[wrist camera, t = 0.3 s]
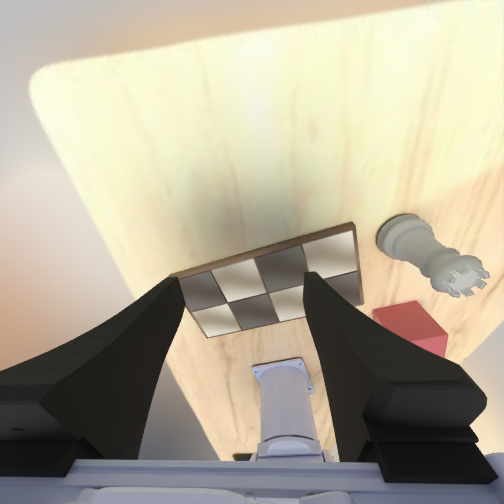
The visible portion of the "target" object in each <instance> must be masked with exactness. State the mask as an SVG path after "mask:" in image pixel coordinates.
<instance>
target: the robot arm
mask: <svg viewBox="0 0 504 504" xmlns="http://www.w3.org/2000/svg"><path fill="white" fill-rule="evenodd" d="M185 305H186V303H185V299H184V296H183V292H182V289H181V286H180V282H179V279H178V277H167V278H165V279H164V280H163V281H161V282H160V283H159V284H157V285H156V286H155V287H153V288H152V289H151V290H149V291H148V292H147V293H146V294H144V295H143V296H142V297H140V298H139V299H138V300H136V301H135V302H134V303H133V304H131V305H129V306H128V307H126V308H125V309H124V310H122V311H121V312H119V313H118V314H116V315H115V316H113V317H112V318H110V319H109V320H107V321H105V322H104V323H102V324H101V325H99V326H97V327H95V328H93V329H92V330H90V331H88V332H86V333H84V334H82V335H80V336H78V337H77V338H75V339H73V340H71V341H69V342H67V343H65V344H63V345H61V346H59V347H57V348H54V349H52V350H50V351H48V352H46V353H43V354H41V355H39V356H37V357H34V358H32V359H29V360H27V361H24V362H22V363H20V364H17V365H15V366H12V367H10V368H7V369H5V370H2V371H0V504H504V453H492V454H487V455H485V456H484V455H483V454H482V453H481V451H480V450H479V448H478V447H477V446H476V444H475V443H477V442H478V441H479V440H478V437H477V436H476V434H475V433H474V432H473V430H472V429H471V427H470V426H469V425H470V424H471V423H472V422H473V421H474V420H475V419H476V418H477V417H478V416H479V415H480V414H481V413H482V412H483V410H484V409H485V407H486V405H487V397H486V395H485V394H484V392H483V391H482V390H481V389H480V388H479V386H478V385H477V384H476V383H475V382H474V381H473V380H472V379H471V377H470V376H469V375H468V374H467V373H466V372H465V371H464V370H463V369H462V367H461V366H460V365H458V364H456V363H454V362H452V361H450V360H447V359H445V358H443V357H441V356H438V355H436V354H434V353H432V352H430V351H427V350H425V349H423V348H421V347H419V346H417V345H415V344H414V343H412V342H410V341H408V340H406V339H404V338H402V337H400V336H399V335H397V334H395V333H393V332H392V331H390V330H388V329H387V328H385V327H383V326H382V325H380V324H378V323H377V322H375V321H374V320H372V319H371V318H369V317H368V316H366V315H365V314H364V313H362V312H361V311H359V310H358V309H357V308H355V307H354V306H353V305H352V304H350V303H349V302H348V301H347V300H345V299H344V298H343V297H342V296H341V295H340V294H339V293H337V292H336V291H335V290H334V289H333V288H332V287H331V286H330V285H329V284H328V283H327V282H326V281H325V280H324V279H323V278H322V277H321V276H320V275H319V274H318V273H317V272H316V271H311V272H304V285H303V305H304V311H305V315H306V319H307V322H308V325H309V328H310V331H311V334H312V337H313V341H314V344H315V347H316V350H317V353H318V356H319V360H320V364H321V368H322V373H323V377H324V382H325V386H326V391H327V396H328V401H329V406H330V411H331V416H332V421H333V426H334V432H335V437H336V443H337V448H338V454H339V460H340V462H335V461H334V458H333V456H332V455H331V454H330V453H329V452H328V451H327V450H322V451H321V446H320V441H319V440H318V438H317V432H316V427H315V422H314V417H313V412H312V407H311V402H310V397H309V394H312V393H313V392H314V390H313V387H312V384H311V381H310V379H309V376H308V373H307V371H306V368H305V365H304V362H303V360H302V359H301V358H297V359H291V360H286V361H280V362H275V363H269V364H264V365H258V366H253V367H252V372H253V374H254V375H255V377H256V379H257V380H258V382H259V384H260V406H261V443H258V453H253V455H252V457H251V459H250V460H249V461H176V460H174V461H173V460H138V455H139V450H140V446H141V441H142V437H143V433H144V429H145V425H146V421H147V417H148V413H149V409H150V405H151V402H152V398H153V395H154V391H155V388H156V384H157V381H158V378H159V374H160V372H161V368H162V365H163V363H164V360H165V357H166V355H167V352H168V350H169V348H170V346H171V343H172V341H173V339H174V336H175V334H176V332H177V329H178V327H179V324H180V322H181V319H182V316H183V313H184V309H185ZM322 452H323V456H322ZM323 459H324V460H323ZM245 497H246V498H245Z"/></svg>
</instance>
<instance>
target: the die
mask: <svg viewBox="0 0 504 504" xmlns="http://www.w3.org/2000/svg"><path fill="white" fill-rule="evenodd" d="M373 320H374V321H375V322H377V323H378V324H380V325H382V326H383V327H385V328H387V329H388V330H390V331H392V332H393V333H395V334H397V335H399V336H400V337H402V338H404V339H406V340H408V341H410V342H412V343H414V344H415V345H417V346H419V347H421V348H423V349H425V350H427V351H430V352H432V353H434V354H436V355H438V356H441V357H443V358H445V352H446V346H447V340H448V334H447V333H446V332H445V331H444V330H443V329H442V327H441V326H440V325H439V324H438V323H437V322H436V321H435V320H434V319H433V318H432V317H431V316H430V315H429V314H428V313H427V312H426V311H425V310H424V309H423V308H422V306H421V305H420V304H419V303H418V302H417V301H412V302H407V303H402V304H398V305H393V306H388V307H383V308H379V309H374V310H373Z"/></svg>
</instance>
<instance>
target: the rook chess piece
mask: <svg viewBox="0 0 504 504" xmlns="http://www.w3.org/2000/svg"><path fill="white" fill-rule="evenodd" d="M377 245H378V247H379V249H380V250H381V251H382V252H383V253H385V254H386V255H387V256H389V257H390V258H392V259H396V260H401V261H407V262H409V263H411V264H413V265H415V266H416V267H418V268H419V269H420V271H421V274H422V275H423V276H425V277H427V278H431V280H430V282H431V285H432V288H434V289H435V290H436V291H438V292H444V293H449V294H450V295H451V296H452V297H457V298H459V297H460V295H461V294H459V293H462V294H464V295H465V296H466V297H467V296H470V295H473V294H474V292H473V291H472V290H470V288H472V287H473V286H477V287H478V288H480V289H483V288H484V287H485V285H486V284H487V283H485V282H484V281H482V280H481V278H484V279H487V278H490V276H489V272H487V271H485V270H484V268H483V267H482V262H481V260H479V259H478V258H477V257H475V256H470V255H462V256H460V254H459V252H458V251H457V250H456V249H453V248H447V247H445V246H443V245H442V244H441V243H440V242H438V241H437V240H436V239H435V237H434V233H433V232H432V228H431V226H430V225H429V224H428V223H426V222H425V221H424V220H422V219H420V218H419V217H418V216H415V215H410V214H408V215H403V216H398V217H396V218H394V219H392V220H390V221H388V222H387V223H386V224H385V225H384V226H383V227H382V229H381V231H380V232H379V234H378V239H377Z"/></svg>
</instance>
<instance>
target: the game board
mask: <svg viewBox="0 0 504 504" xmlns="http://www.w3.org/2000/svg"><path fill="white" fill-rule="evenodd" d="M311 271H316V272H317V273H318V274H319V275H320V276H321V277H322V278H323V279H324V280H325V281H326V282H327V283H328V284H329V285H330V286H331V287H332V288H333V289H334V290H335V291H336V292H337V293H339V294H340V295H341V296H342V297H343V298H344V299H345V300H347V301H348V302H349V303H350V304H352V305H353V306H359V305H363V304H364V297H363V288H362V279H361V271H360V262H359V253H358V244H357V235H356V226H355V224H354V223H353V222H350V223H346V224H343V225H340V226H336V227H333V228H329V229H326V230H322V231H319V232H315V233H312V234H309V235H305V236H302V237H298V238H295V239H291V240H288V241H284V242H281V243H278V244H274V245H271V246H267V247H264V248H260V249H257V250H253V251H250V252H247V253H243V254H240V255H236V256H233V257H229V258H226V259H223V260H219V261H216V262H212V263H209V264H205V265H202V266H198V267H195V268H192V269H188V270H185V271H181V272H178V273H174V274H171V275H169V277H178V279H179V282H180V286H181V289H182V292H183V296H184V299H185V303H186V305H185V307H186V308H187V310H188V311H189V313H190V314H191V316H192V317H193V319H194V320H195V322H196V323H197V325H198V326H199V328H200V329H201V331H202V332H203V334H204V335H205V336H206V338H212V337H216V336H221V335H226V334H230V333H235V332H239V331H244V330H249V329H253V328H258V327H262V326H267V325H272V324H276V323H281V322H285V321H290V320H295V319H299V318H304V317H306V315H305V311H304V305H303V285H304V272H311Z"/></svg>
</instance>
